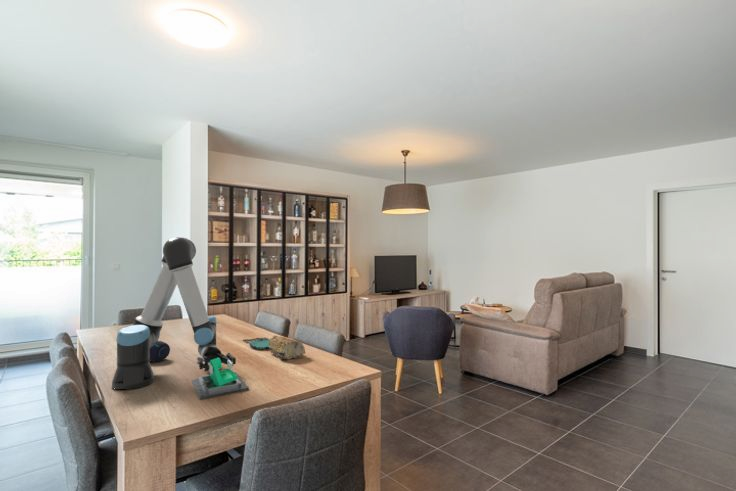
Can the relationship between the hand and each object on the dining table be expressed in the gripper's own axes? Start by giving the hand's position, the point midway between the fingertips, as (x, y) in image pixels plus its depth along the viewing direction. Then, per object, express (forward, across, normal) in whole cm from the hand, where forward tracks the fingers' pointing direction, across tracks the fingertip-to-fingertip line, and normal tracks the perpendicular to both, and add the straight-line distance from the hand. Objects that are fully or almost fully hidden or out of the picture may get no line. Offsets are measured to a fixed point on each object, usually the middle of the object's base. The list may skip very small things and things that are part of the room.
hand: (221, 368), depth 151 cm
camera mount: (-4, -2, -7) cm, 8 cm away
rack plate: (-5, 0, -8) cm, 10 cm away
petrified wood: (-32, -38, -9) cm, 50 cm away
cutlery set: (-62, -36, -9) cm, 72 cm away
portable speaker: (-64, +25, -9) cm, 69 cm away
